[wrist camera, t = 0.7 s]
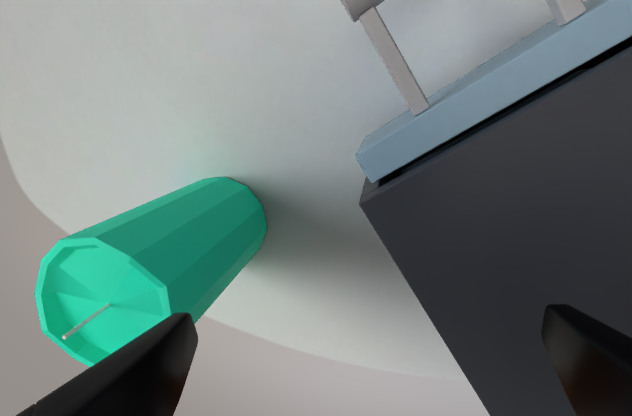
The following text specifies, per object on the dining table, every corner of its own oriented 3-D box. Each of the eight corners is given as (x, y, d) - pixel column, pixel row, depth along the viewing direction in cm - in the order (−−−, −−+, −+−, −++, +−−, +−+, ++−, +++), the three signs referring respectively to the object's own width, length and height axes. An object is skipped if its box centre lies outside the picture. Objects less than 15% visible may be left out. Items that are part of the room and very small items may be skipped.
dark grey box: (369, 162, 20) (358, 203, 12) (585, 34, 16) (784, -34, 8) (465, 320, 21) (512, 451, 13) (680, 237, 18) (922, 349, 10)
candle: (207, 272, 24) (51, 420, 13) (166, 195, 23) (-44, 284, 12) (282, 247, 22) (176, 393, 11) (242, 162, 21) (79, 230, 10)
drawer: (313, 50, 18) (272, 21, 11) (516, -104, 14) (617, -264, 8) (458, 292, 20) (491, 380, 14) (661, 207, 17) (829, 272, 10)
